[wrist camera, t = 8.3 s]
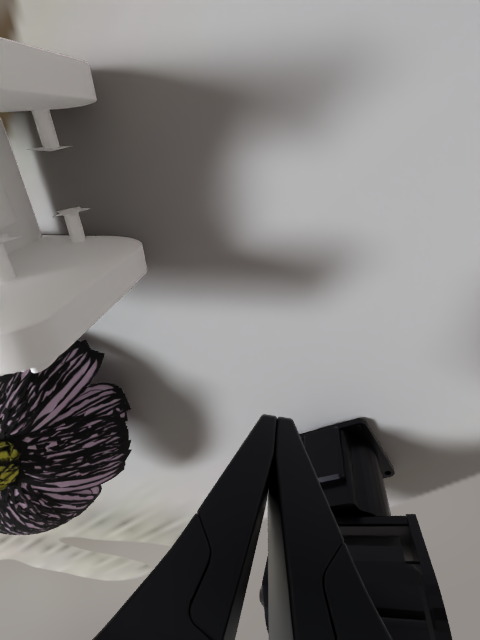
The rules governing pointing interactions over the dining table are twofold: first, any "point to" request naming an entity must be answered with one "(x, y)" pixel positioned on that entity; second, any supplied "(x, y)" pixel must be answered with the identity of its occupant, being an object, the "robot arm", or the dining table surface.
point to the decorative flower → (58, 441)
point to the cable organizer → (50, 250)
